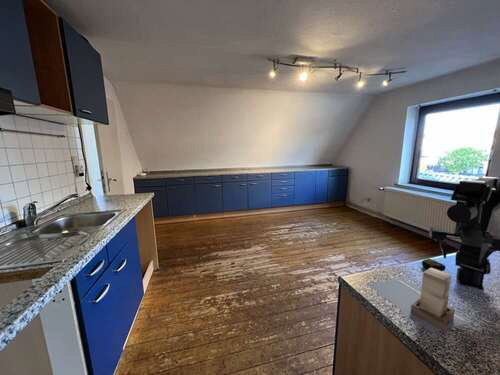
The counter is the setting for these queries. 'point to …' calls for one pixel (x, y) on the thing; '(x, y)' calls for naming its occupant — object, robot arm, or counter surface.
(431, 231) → the robot arm
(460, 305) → the counter surface
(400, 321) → the counter surface
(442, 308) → the beech column
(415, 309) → the walnut block
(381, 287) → the board
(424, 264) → the tape measure
